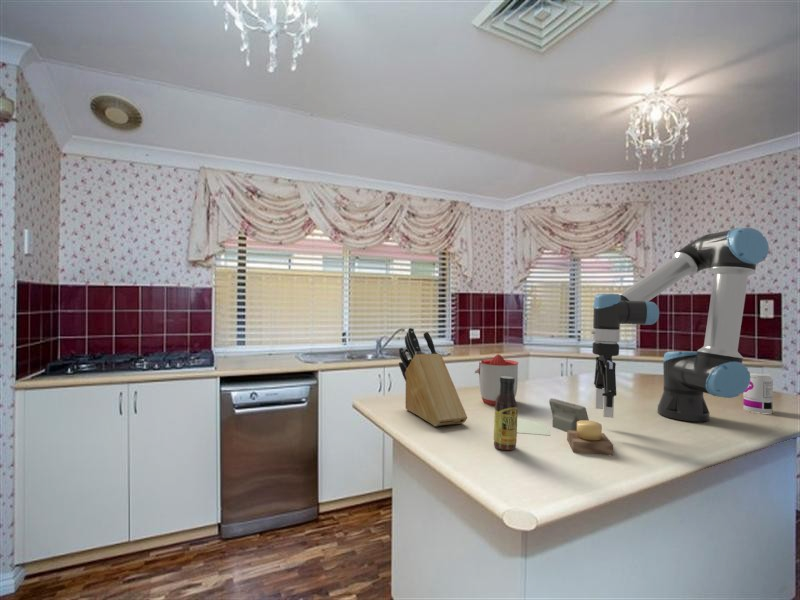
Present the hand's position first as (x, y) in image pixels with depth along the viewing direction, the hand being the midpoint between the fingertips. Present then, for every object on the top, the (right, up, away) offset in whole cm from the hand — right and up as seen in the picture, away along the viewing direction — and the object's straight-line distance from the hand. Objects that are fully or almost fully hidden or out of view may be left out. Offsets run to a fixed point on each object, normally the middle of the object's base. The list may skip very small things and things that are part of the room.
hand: (603, 412), depth 127 cm
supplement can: (+69, -7, +22) cm, 73 cm away
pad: (-23, -6, +6) cm, 24 cm away
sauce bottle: (-35, -6, -14) cm, 38 cm away
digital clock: (-10, -7, +3) cm, 12 cm away
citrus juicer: (-26, -6, +35) cm, 44 cm away
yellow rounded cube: (-11, -3, -14) cm, 18 cm away
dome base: (-11, -6, -14) cm, 19 cm away
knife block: (-54, -6, +19) cm, 58 cm away
